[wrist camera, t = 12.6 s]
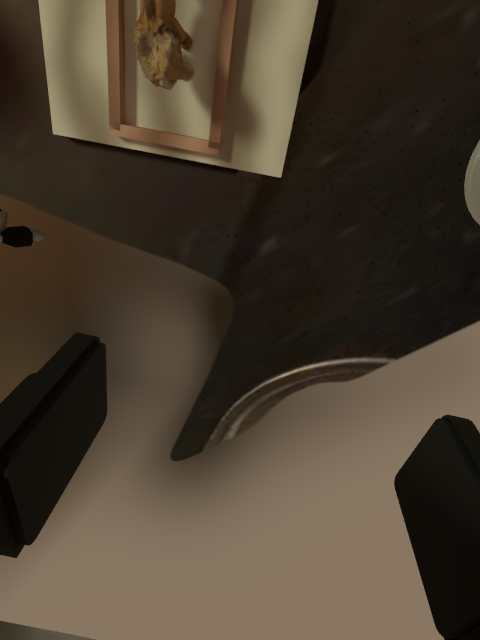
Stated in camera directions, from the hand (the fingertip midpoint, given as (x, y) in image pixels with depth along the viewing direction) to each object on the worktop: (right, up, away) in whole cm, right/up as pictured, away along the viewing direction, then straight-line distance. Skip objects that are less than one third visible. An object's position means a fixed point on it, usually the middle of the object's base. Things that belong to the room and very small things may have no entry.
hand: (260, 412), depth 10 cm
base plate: (-6, +27, +19) cm, 34 cm away
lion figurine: (-6, +28, +17) cm, 33 cm away
